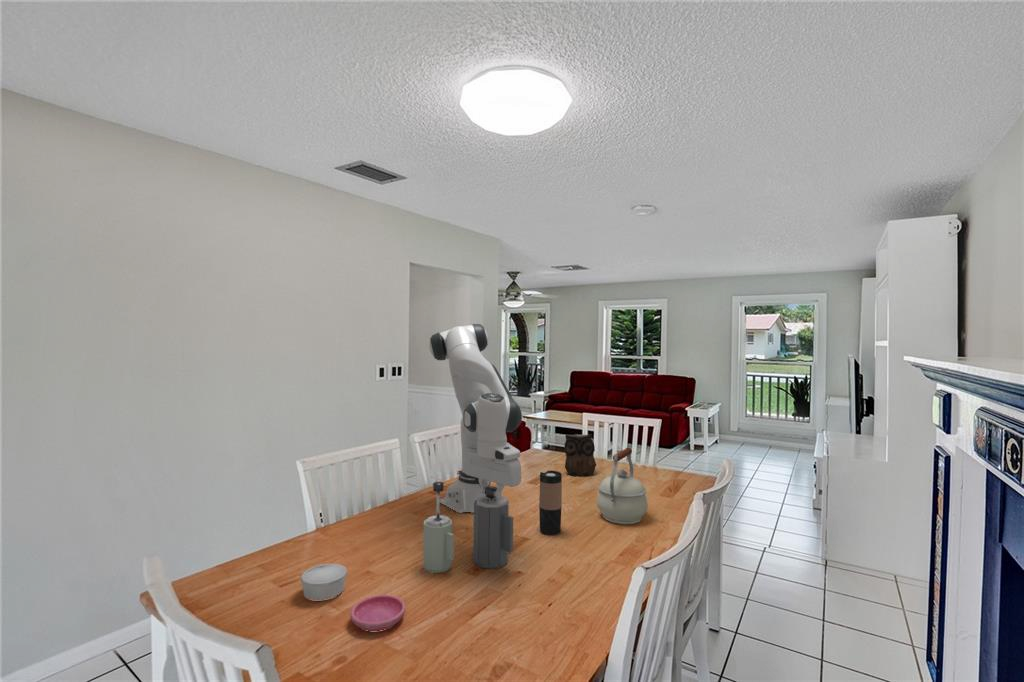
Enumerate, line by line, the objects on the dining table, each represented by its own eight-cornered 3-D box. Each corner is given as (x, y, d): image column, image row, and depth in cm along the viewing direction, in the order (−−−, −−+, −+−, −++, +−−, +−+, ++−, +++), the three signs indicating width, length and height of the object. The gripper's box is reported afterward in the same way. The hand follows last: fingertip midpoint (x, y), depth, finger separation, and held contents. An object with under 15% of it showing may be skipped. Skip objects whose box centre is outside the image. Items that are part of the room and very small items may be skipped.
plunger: (482, 532, 147) (483, 488, 147) (490, 528, 149) (491, 485, 149) (491, 535, 144) (492, 490, 144) (499, 532, 147) (500, 487, 147)
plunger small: (430, 517, 143) (431, 483, 142) (438, 514, 145) (438, 481, 145) (437, 520, 141) (437, 485, 141) (445, 517, 143) (445, 483, 143)
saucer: (409, 606, 122) (409, 593, 122) (399, 637, 110) (399, 623, 110) (358, 606, 122) (359, 594, 122) (343, 637, 109) (343, 623, 109)
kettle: (636, 532, 170) (637, 460, 169) (587, 521, 179) (587, 453, 179) (657, 511, 191) (657, 447, 190) (611, 502, 200) (612, 441, 200)
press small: (417, 567, 142) (418, 519, 142) (438, 557, 149) (439, 512, 148) (441, 578, 136) (442, 529, 136) (462, 568, 142) (463, 520, 142)
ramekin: (332, 578, 136) (332, 559, 136) (355, 591, 129) (355, 571, 129) (292, 594, 127) (292, 574, 127) (315, 610, 120) (315, 588, 120)
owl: (597, 475, 239) (597, 434, 238) (578, 479, 231) (578, 437, 231) (579, 469, 249) (579, 430, 249) (560, 473, 242) (560, 432, 241)
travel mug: (560, 536, 165) (560, 477, 165) (537, 534, 167) (538, 475, 167) (562, 528, 173) (563, 471, 173) (540, 526, 174) (541, 469, 174)
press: (466, 561, 146) (466, 500, 146) (490, 550, 154) (491, 491, 154) (499, 576, 138) (499, 510, 138) (522, 563, 146) (523, 501, 146)
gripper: (459, 445, 151) (459, 490, 151) (510, 456, 138) (510, 505, 138) (474, 442, 156) (474, 485, 156) (524, 452, 142) (524, 500, 143)
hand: (491, 495), depth 147 cm, fingers closed on plunger, 4 cm apart
